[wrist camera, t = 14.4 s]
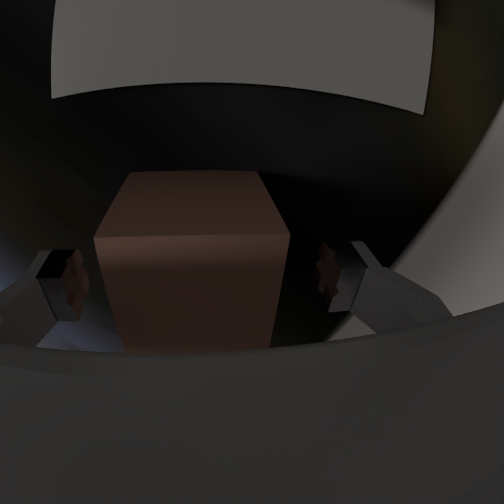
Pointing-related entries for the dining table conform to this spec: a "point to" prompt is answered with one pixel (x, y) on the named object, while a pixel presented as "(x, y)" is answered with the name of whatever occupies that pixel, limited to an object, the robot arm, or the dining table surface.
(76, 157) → the dining table surface
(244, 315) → the terracotta block
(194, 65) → the white flat square slab
